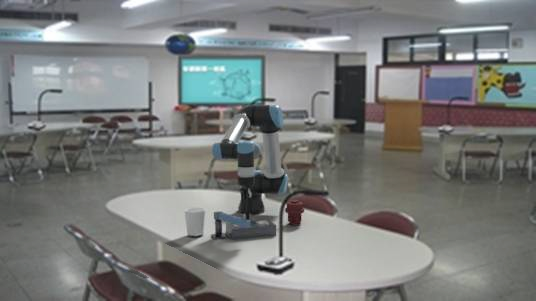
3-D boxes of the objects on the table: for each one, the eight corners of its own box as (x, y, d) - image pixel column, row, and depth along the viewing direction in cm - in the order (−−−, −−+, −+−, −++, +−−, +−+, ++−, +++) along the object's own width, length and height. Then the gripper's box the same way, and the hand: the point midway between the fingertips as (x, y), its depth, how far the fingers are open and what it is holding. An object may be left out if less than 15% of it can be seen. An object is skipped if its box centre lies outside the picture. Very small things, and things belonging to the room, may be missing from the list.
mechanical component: (305, 222, 286) (302, 227, 277) (286, 221, 288) (283, 226, 279) (305, 199, 285) (302, 203, 275) (286, 198, 287) (283, 202, 277)
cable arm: (212, 218, 258) (211, 212, 257) (219, 217, 261) (219, 210, 260) (244, 228, 240) (244, 221, 240) (252, 226, 243) (252, 220, 243)
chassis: (225, 232, 266) (225, 222, 265) (268, 229, 273) (268, 218, 272) (232, 239, 255) (231, 228, 254) (276, 235, 261) (276, 224, 261)
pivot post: (211, 235, 261) (210, 218, 260) (223, 234, 262) (223, 217, 261) (213, 239, 255) (213, 221, 254) (226, 238, 257) (226, 220, 256)
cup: (199, 239, 255) (199, 212, 254) (181, 237, 259) (180, 211, 257) (209, 233, 264) (208, 208, 263) (191, 231, 268) (190, 206, 266)
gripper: (234, 174, 249) (235, 224, 252) (242, 178, 236) (243, 231, 239) (249, 173, 251) (250, 222, 254) (258, 177, 239) (259, 229, 242)
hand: (247, 226), depth 247 cm, fingers closed
